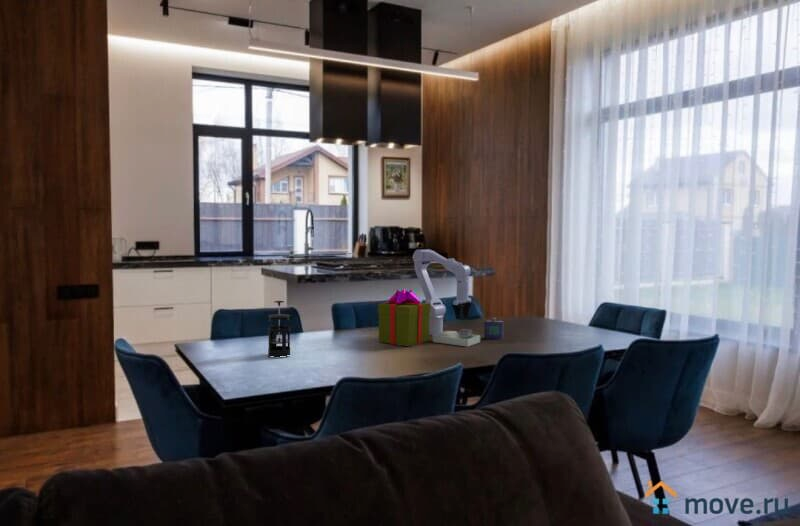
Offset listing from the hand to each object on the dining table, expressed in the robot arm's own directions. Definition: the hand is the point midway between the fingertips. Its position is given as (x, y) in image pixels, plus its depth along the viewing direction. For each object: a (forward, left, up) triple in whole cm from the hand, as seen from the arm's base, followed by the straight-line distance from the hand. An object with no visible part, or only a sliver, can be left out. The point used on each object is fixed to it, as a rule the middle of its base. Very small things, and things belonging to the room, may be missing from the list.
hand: (462, 318), depth 278 cm
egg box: (-2, -9, -10) cm, 14 cm away
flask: (+12, +10, -11) cm, 19 cm away
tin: (+7, -9, -10) cm, 15 cm away
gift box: (-19, -22, -11) cm, 31 cm away
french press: (-45, -77, -11) cm, 90 cm away
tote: (+2, -9, -10) cm, 14 cm away
